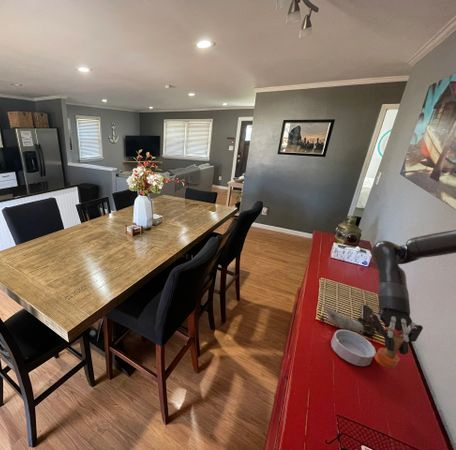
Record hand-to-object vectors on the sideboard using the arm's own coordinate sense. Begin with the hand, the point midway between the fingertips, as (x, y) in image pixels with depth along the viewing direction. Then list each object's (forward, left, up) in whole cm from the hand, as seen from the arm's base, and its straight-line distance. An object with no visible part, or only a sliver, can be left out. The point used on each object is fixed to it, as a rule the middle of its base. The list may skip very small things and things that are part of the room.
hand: (396, 352), depth 76 cm
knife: (+28, -34, -20) cm, 48 cm away
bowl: (+15, -8, -20) cm, 26 cm away
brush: (+2, -1, -7) cm, 7 cm away
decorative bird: (+26, -16, -20) cm, 37 cm away
